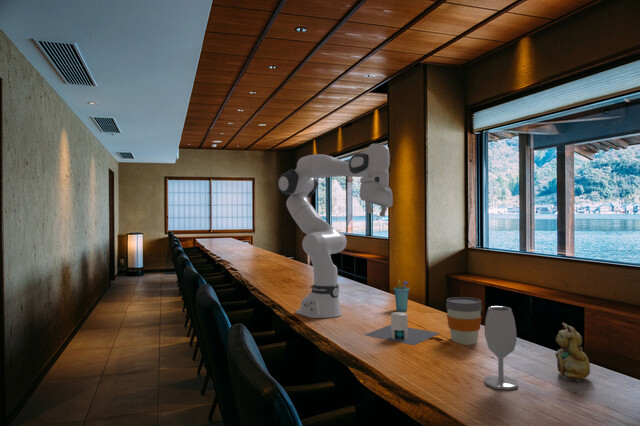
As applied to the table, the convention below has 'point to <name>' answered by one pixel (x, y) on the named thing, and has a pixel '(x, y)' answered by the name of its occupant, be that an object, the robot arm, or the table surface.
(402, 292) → the cup
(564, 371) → the decorative figurine
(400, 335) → the teal marble
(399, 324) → the cream tumbler
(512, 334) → the wineglass
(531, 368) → the table surface
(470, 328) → the reusable coffee cup
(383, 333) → the charcoal mat
